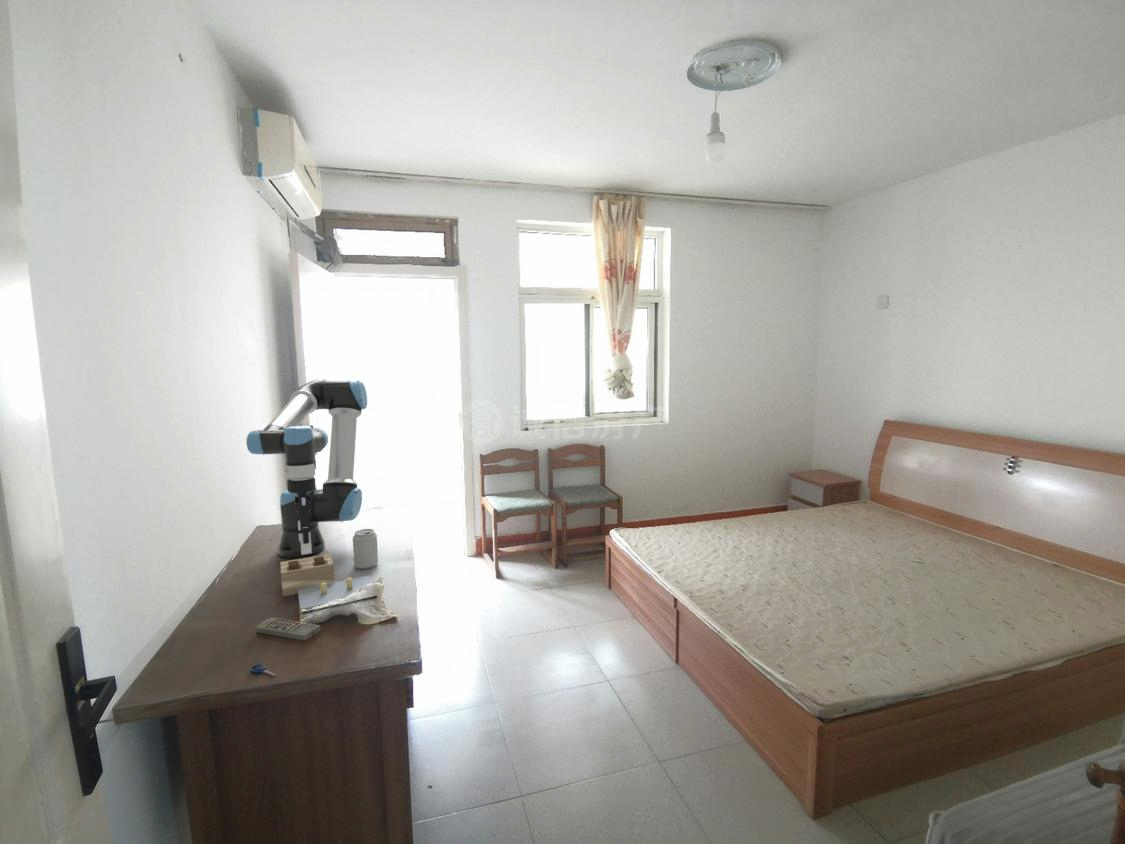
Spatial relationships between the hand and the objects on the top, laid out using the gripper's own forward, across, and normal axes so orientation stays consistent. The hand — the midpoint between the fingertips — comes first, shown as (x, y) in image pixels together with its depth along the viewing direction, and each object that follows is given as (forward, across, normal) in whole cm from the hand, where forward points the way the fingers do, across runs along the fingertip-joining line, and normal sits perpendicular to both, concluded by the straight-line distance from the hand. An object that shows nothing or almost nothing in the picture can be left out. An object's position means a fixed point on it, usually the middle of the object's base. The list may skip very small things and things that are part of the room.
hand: (305, 546), depth 157 cm
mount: (+12, +12, +7) cm, 18 cm away
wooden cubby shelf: (+12, 0, 0) cm, 12 cm away
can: (+12, -8, +18) cm, 23 cm away
